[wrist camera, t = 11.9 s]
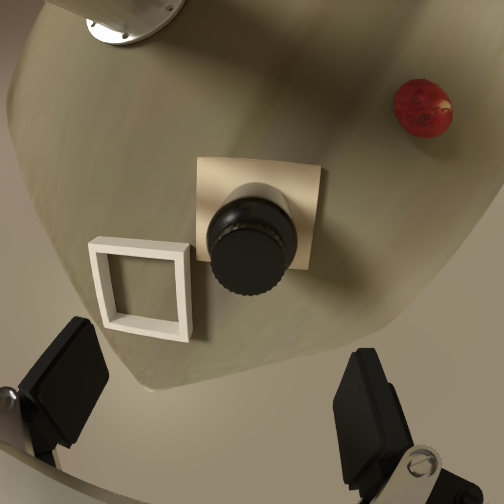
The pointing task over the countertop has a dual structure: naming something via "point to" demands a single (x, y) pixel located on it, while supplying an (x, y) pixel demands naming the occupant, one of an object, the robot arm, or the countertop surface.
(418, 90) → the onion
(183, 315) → the white square frame
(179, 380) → the countertop surface
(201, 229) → the board
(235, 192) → the supplement bottle
